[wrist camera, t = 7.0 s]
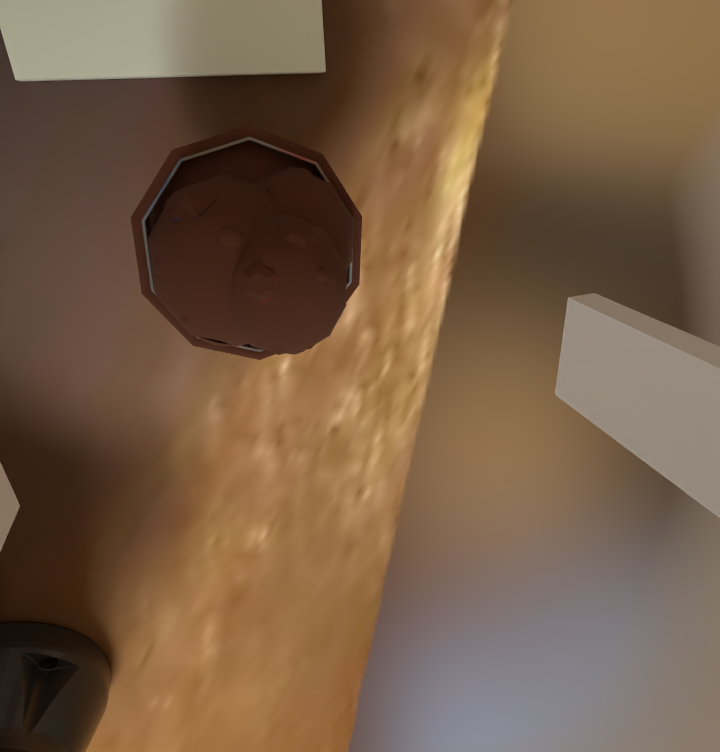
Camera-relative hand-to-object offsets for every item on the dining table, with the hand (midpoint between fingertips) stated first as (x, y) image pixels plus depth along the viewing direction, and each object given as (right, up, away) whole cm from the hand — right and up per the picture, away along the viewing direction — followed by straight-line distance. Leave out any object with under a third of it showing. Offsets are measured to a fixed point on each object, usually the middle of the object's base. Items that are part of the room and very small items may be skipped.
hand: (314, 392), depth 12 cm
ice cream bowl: (-7, +10, +22) cm, 25 cm away
